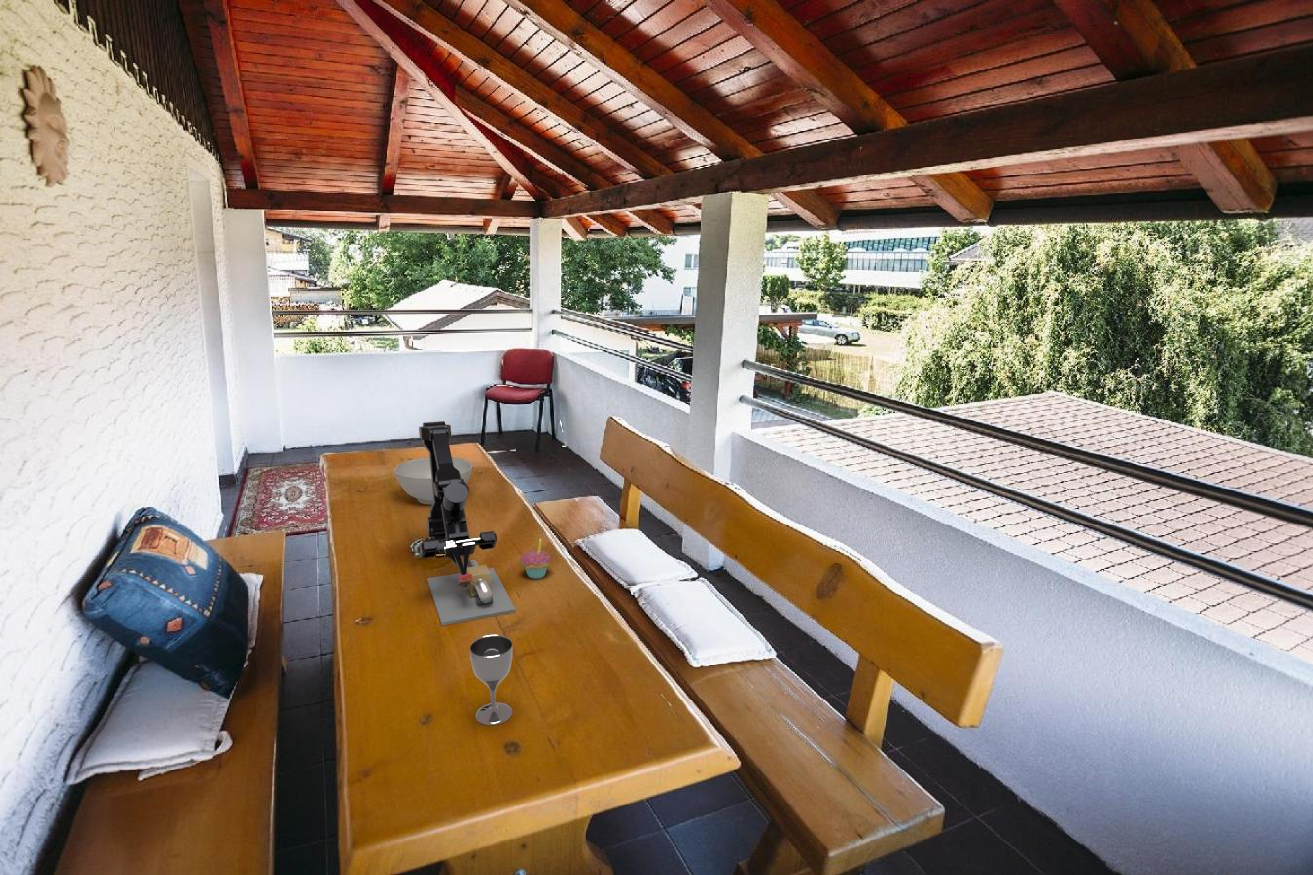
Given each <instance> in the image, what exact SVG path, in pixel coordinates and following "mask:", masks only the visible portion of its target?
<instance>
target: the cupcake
mask: <svg viewBox="0 0 1313 875" xmlns="http://www.w3.org/2000/svg"><path fill="white" fill-rule="evenodd" d="M542 541H543V540H542V538H539V541H538V547H537V550H536V549H532V550H528V551H526V552H525V553H523V554H522V555H521V557H520V560H519V564H520V566H521V567H522V568H524V570H525V571H526V575H527V577H528V578H530V579H534V580H535V579H537V580H538V579H542V578H543V577H545V575H546V572H547V570H548V567H549V566H550V565H551V562H552V557H551V556H550V554H549V553H547V551H546V550H545V551H544V550H542Z"/></svg>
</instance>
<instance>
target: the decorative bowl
mask: <svg viewBox="0 0 1313 875" xmlns="http://www.w3.org/2000/svg"><path fill="white" fill-rule="evenodd" d="M452 461H453V465H454V467H455V468H456V469H458V470H459V471H460V475H461V479H464V482H465V483H466V484H467V483H468V481H469V479H470V477H471V474H472V472H473V465H474V464H473V463H472V462H471V461H470V460H468V459H465V458H461V457H455V456H452ZM393 469H394V470H393V473H394V475H395V478H396V481H397V482H398V484H399V486H400V487H401V488H402V489H403V490H404V492H406V493H407V494H408V495H410V496H411V497H412V498H414V499H417V502H418V503H420V504H423V505H431V506H432V504H433V491H432V479H431V468H430V457H429V456H427V457H420V458H413V459H409V460H407V461H403V462H401V463H399V464H397V465H396V466H395V467H394V468H393Z"/></svg>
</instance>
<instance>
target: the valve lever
mask: <svg viewBox="0 0 1313 875" xmlns="http://www.w3.org/2000/svg"><path fill="white" fill-rule="evenodd" d="M472 580H473V578H472V574H466V575H460V576H459V579H458V580H457V581H456V584H457V586H461V588H464V587H467V584H468V583H469V582H471V581H472Z"/></svg>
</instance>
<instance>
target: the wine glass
mask: <svg viewBox="0 0 1313 875" xmlns="http://www.w3.org/2000/svg"><path fill="white" fill-rule="evenodd" d="M469 657H470V663H471V668H472V671H473V673H474V675H475V677H476V678H477V679H478V680H479V681H481V682H482V683H483V684H484V685H486V686H487V688H488V689H489V694H490V699H491V700H490V702H489V703H486V704H484V705H482V706H480V707H479V708H478V709H477V710H476V713H475V720H476V721H477V722H478V723H480V724H483V725H486V726H495V725H499V724H500V725H501V724H503V723H505V722H507V721H508V720H509V719H510V718H512V717H511V716H513V709H512V707H511V706H510V705H509V704H507V703H504V702H499V701H497V702H496V698H497V697H496V694H497V688H498V687H499V684H500V683H501V682H502V681H503V680H504V679H505V678H506V677H507V675H508V674H509V673H510V670H511V667H512V660H513V642H512V640H511V639H510V638H509V637H507V636H505V635H500V634H489V635H483V636H481V637H479V638H477V639H474V640H473V641H472V642H471V644H470V646H469Z"/></svg>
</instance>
